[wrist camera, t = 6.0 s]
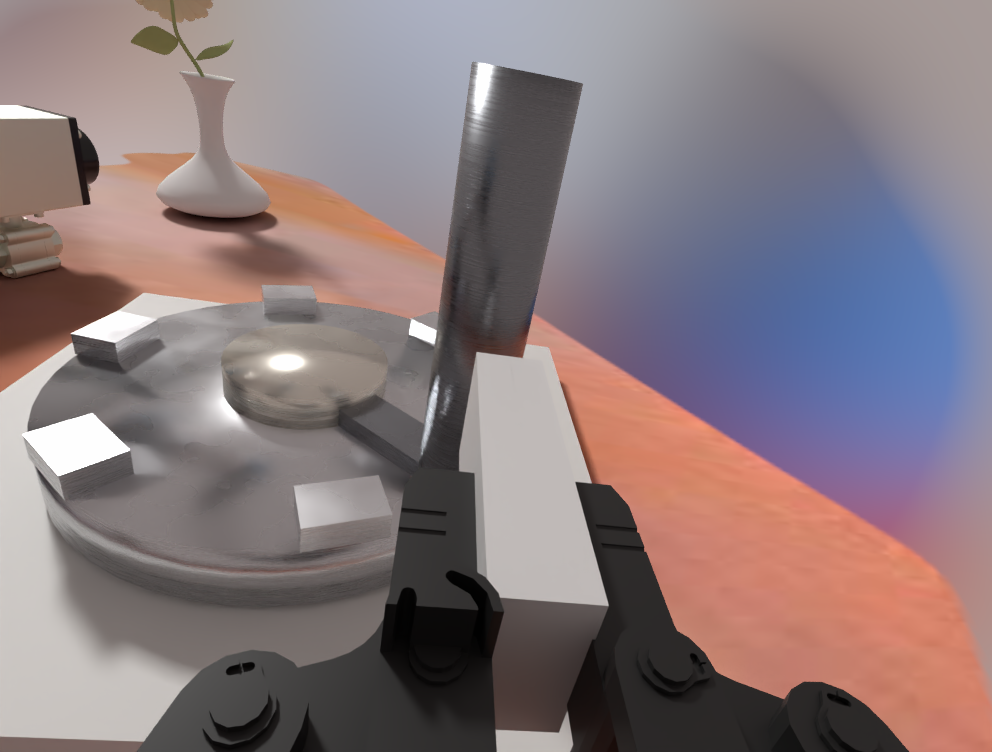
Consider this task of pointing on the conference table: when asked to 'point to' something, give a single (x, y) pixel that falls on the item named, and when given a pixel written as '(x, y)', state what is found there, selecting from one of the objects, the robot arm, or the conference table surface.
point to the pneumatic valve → (39, 184)
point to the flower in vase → (202, 128)
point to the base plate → (147, 610)
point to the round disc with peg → (300, 395)
